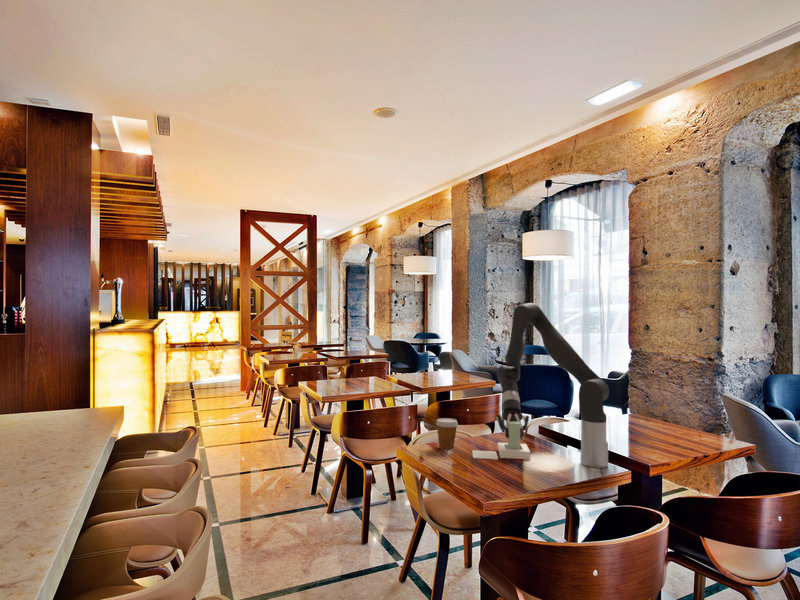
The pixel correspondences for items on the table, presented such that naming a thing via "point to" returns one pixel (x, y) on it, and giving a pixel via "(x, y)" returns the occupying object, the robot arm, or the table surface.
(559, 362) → the robot arm
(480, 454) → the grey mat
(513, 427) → the sage block
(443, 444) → the disposable coffee cup
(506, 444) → the pocket holder
